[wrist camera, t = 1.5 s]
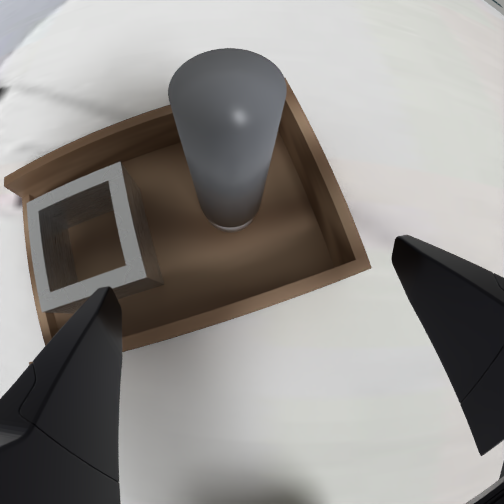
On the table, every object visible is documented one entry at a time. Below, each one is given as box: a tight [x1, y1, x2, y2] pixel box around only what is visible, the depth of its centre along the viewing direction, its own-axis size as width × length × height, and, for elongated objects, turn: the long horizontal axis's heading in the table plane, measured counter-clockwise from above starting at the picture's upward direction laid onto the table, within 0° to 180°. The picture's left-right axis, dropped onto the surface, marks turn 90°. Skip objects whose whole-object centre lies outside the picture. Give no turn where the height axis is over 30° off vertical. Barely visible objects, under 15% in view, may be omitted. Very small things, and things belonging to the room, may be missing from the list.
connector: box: [168, 48, 287, 232], centre depth 16 cm, size 4×4×13 cm
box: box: [4, 78, 371, 365], centre depth 20 cm, size 15×23×4 cm, turn 109°
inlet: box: [27, 161, 164, 314], centre depth 19 cm, size 8×8×4 cm
